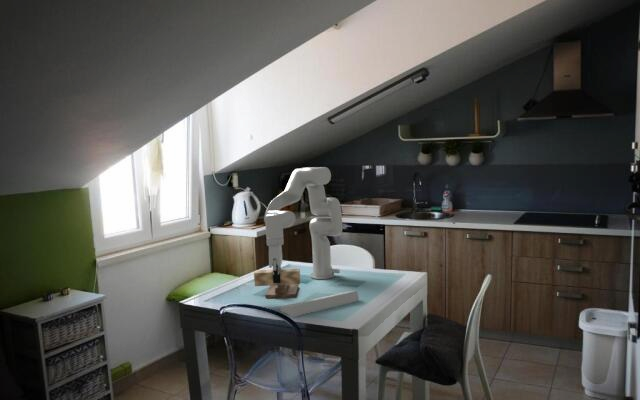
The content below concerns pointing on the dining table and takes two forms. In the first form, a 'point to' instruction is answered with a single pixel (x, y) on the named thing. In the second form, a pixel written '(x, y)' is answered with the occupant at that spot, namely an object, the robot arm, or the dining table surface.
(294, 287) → the ridge stand
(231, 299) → the dining table surface
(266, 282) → the wooden block
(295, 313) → the decorative molding
